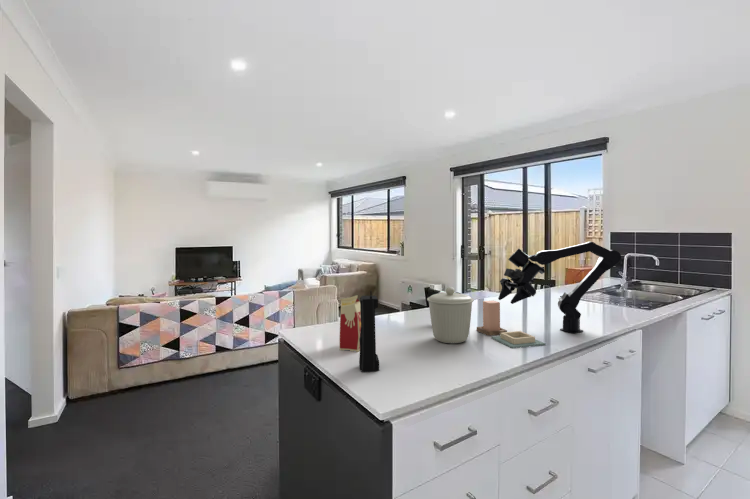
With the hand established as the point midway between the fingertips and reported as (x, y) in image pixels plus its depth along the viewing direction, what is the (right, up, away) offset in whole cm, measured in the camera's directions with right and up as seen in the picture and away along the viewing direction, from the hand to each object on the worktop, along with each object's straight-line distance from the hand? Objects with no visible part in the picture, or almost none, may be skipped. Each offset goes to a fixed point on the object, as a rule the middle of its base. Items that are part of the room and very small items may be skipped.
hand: (504, 301), depth 155 cm
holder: (-6, -13, -1) cm, 14 cm away
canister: (-26, -14, -11) cm, 31 cm away
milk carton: (-64, -15, -18) cm, 68 cm away
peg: (-6, -13, -1) cm, 14 cm away
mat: (-1, -13, -15) cm, 20 cm away
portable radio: (-58, -16, -40) cm, 72 cm away
